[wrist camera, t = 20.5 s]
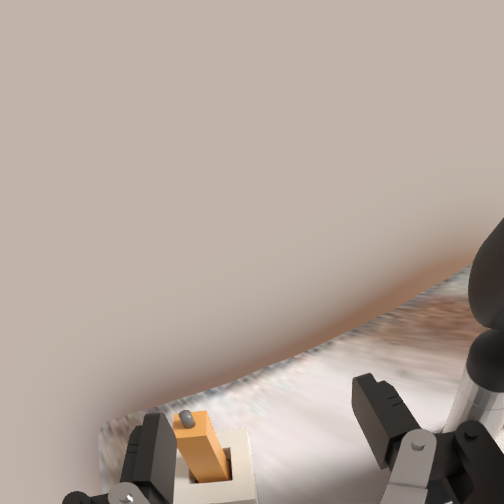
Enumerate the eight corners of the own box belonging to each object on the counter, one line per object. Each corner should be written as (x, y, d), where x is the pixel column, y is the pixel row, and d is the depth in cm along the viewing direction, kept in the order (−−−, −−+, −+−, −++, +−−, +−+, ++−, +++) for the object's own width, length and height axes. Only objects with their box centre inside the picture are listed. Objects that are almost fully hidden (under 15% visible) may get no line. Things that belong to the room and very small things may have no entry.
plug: (202, 467, 41) (169, 404, 36) (229, 464, 41) (202, 400, 36) (202, 488, 37) (166, 428, 32) (230, 485, 37) (202, 425, 32)
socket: (181, 447, 46) (174, 435, 44) (249, 439, 46) (245, 427, 45) (177, 513, 32) (169, 504, 31) (259, 507, 33) (255, 498, 32)
